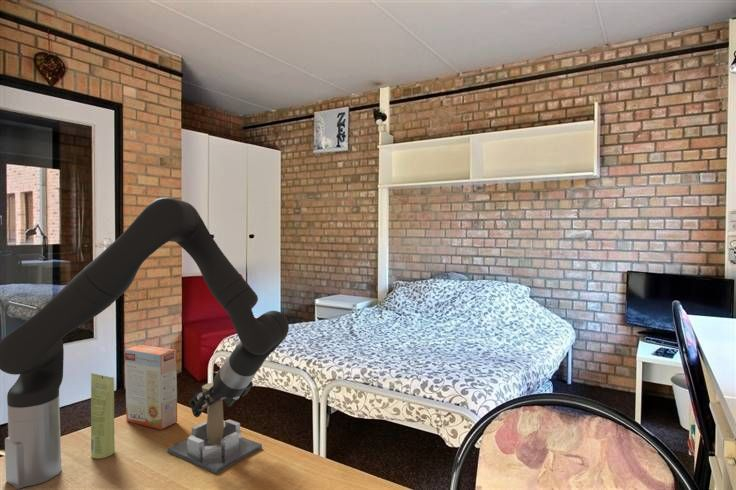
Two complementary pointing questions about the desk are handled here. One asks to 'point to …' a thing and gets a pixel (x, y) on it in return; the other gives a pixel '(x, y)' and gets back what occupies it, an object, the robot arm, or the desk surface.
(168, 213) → the robot arm
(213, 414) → the handle
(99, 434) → the tube
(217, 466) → the octagonal fixture plate
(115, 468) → the desk surface
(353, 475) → the desk surface
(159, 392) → the cracker box
